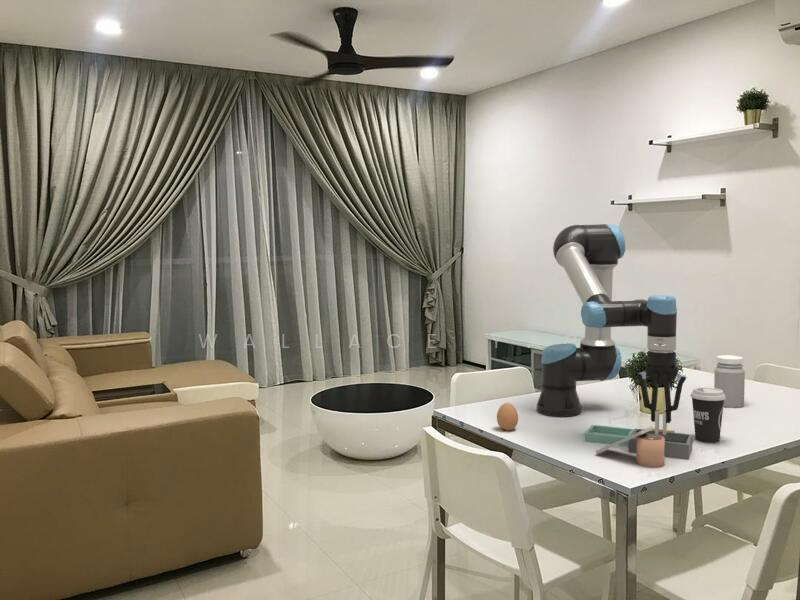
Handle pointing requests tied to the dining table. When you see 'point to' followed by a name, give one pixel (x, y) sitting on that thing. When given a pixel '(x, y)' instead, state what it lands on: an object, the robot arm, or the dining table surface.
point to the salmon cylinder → (650, 450)
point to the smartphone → (624, 440)
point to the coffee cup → (707, 413)
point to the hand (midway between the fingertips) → (660, 433)
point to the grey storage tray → (669, 443)
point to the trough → (607, 434)
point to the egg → (507, 416)
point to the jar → (730, 380)
